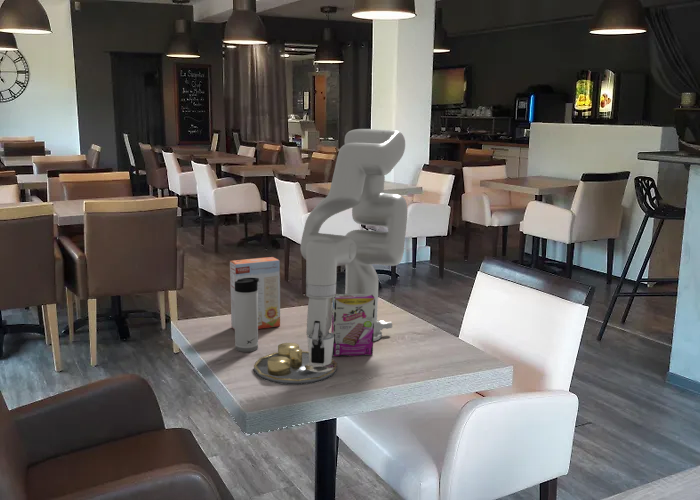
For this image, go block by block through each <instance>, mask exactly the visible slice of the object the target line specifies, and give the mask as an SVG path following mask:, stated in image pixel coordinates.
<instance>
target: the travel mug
mask: <svg viewBox="0 0 700 500" xmlns="http://www.w3.org/2000/svg"><path fill="white" fill-rule="evenodd" d="M258 281H259V278H243V279H239V280H237V281H235V330H234V342H235V343H234V348H235V350H236V351H238V352H243V353H250V352H254V351H256V350H258V349H259V329H258V287H257V286H258Z"/></svg>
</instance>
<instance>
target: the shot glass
mask: <svg viewBox="0 0 700 500" xmlns="http://www.w3.org/2000/svg"><path fill="white" fill-rule="evenodd" d="M312 336H313V333H312V334H311V336H307V335H306V339H307V349H308V350H307V351H308V352H309V362H310V363H311V364H313V365H318V366H323V365H328V364H330V363H331V361H332V359H333V354H332V352H333V343H334V335H333V334H332V333H331V332H329V333H327V335H326V336H325V337H324V343H323V348H324V363H323V364H322V363H312V362H311V347H312ZM319 336H322V333H319ZM319 340H320V341H321V338H319Z"/></svg>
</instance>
